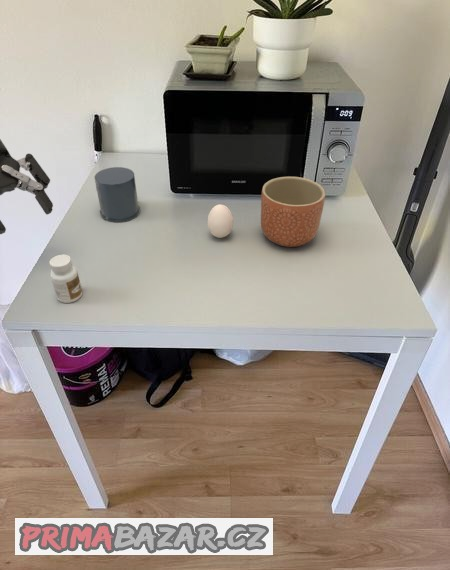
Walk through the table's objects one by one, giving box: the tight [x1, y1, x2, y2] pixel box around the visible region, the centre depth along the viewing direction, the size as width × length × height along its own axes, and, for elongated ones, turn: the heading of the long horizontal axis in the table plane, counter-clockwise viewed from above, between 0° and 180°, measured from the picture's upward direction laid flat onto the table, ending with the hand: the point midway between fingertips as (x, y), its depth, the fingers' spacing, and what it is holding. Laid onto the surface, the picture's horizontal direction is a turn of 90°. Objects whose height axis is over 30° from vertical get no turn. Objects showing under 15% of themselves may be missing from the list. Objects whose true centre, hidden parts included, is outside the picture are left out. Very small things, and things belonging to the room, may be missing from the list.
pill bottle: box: [48, 254, 83, 304], centre depth 76 cm, size 4×4×8 cm
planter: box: [260, 176, 326, 248], centre depth 90 cm, size 12×12×11 cm
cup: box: [94, 166, 141, 224], centre depth 98 cm, size 9×9×9 cm
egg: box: [207, 204, 234, 239], centre depth 91 cm, size 5×5×7 cm
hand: (27, 221), depth 75 cm, fingers open, 8 cm apart
